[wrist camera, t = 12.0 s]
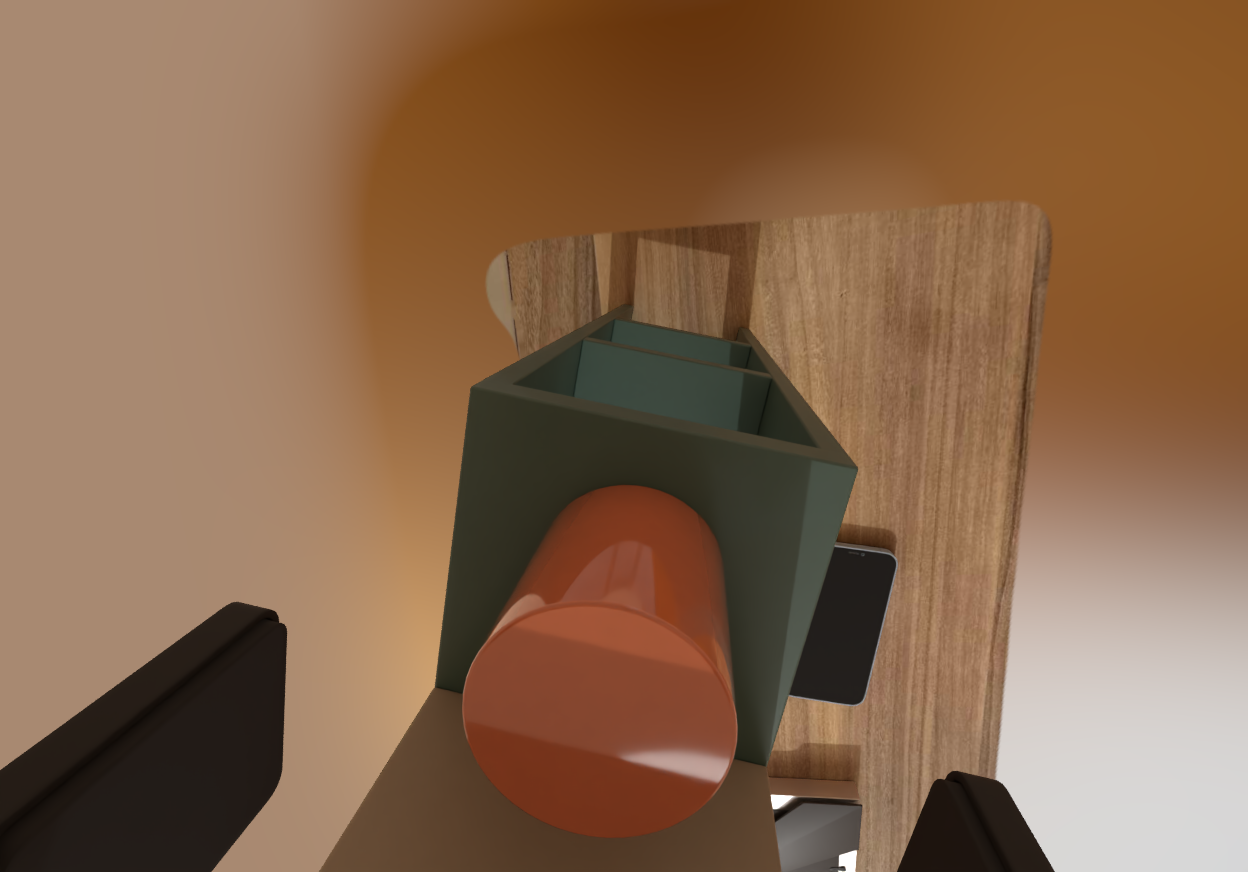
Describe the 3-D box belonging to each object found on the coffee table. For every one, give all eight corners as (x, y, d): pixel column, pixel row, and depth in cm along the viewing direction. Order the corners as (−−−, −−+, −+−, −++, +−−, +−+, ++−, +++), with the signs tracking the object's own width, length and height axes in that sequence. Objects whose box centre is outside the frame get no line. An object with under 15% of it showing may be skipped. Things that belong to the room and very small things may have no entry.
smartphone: (778, 694, 56) (808, 541, 52) (777, 688, 57) (806, 537, 53) (863, 708, 56) (901, 554, 51) (861, 701, 56) (897, 549, 52)
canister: (554, 465, 16) (477, 573, 11) (744, 506, 16) (769, 640, 10) (527, 630, 18) (446, 803, 12) (701, 670, 18) (703, 868, 12)
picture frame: (854, 781, 59) (632, 769, 61) (862, 806, 56) (629, 793, 58) (846, 911, 63) (638, 896, 65) (853, 941, 60) (635, 923, 63)
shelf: (623, 304, 50) (41, 613, 6) (749, 329, 49) (1200, 894, 5) (601, 424, 52) (96, 1264, 8) (720, 449, 52) (846, 1494, 8)
